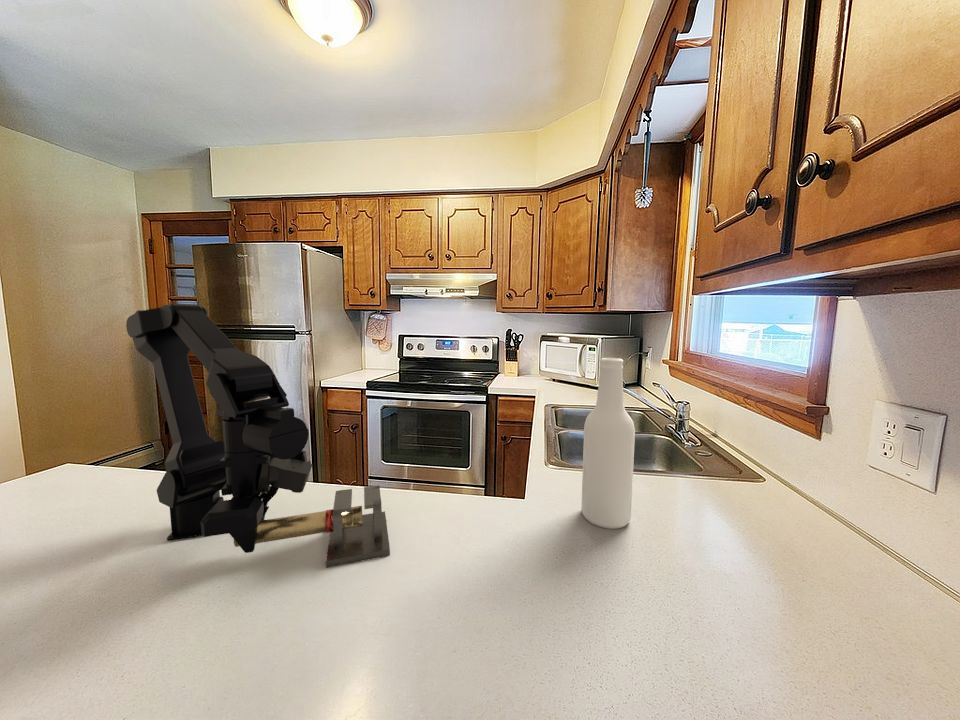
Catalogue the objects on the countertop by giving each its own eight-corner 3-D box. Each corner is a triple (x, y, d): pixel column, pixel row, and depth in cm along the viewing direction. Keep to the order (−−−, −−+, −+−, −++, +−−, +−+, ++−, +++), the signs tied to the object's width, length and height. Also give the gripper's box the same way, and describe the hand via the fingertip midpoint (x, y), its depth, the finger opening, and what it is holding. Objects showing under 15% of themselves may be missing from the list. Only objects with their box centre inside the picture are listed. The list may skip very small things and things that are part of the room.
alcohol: (624, 536, 61) (632, 362, 58) (574, 520, 66) (579, 359, 63) (635, 514, 68) (642, 358, 65) (589, 501, 73) (594, 355, 70)
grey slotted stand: (326, 567, 53) (324, 520, 52) (332, 524, 64) (330, 485, 63) (389, 555, 56) (389, 510, 55) (385, 516, 67) (384, 478, 66)
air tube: (234, 552, 53) (232, 530, 52) (241, 539, 56) (240, 518, 56) (362, 530, 58) (361, 511, 58) (362, 520, 62) (361, 501, 61)
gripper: (295, 463, 47) (300, 574, 49) (314, 425, 65) (317, 507, 66) (194, 473, 44) (203, 592, 45) (243, 430, 61) (248, 517, 63)
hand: (253, 545), depth 55 cm, fingers closed on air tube, 3 cm apart
